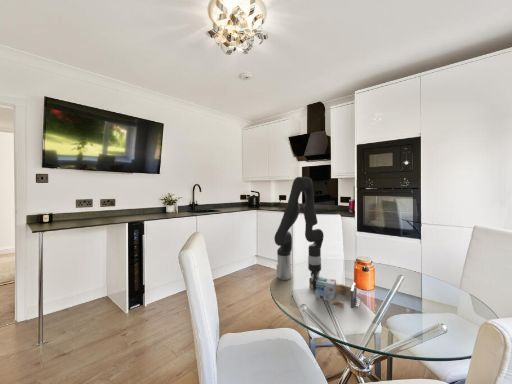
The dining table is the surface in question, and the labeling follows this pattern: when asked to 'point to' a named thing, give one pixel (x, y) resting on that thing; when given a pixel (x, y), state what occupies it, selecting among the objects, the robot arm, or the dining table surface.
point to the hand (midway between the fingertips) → (314, 289)
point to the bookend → (354, 301)
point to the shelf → (340, 292)
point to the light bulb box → (326, 288)
